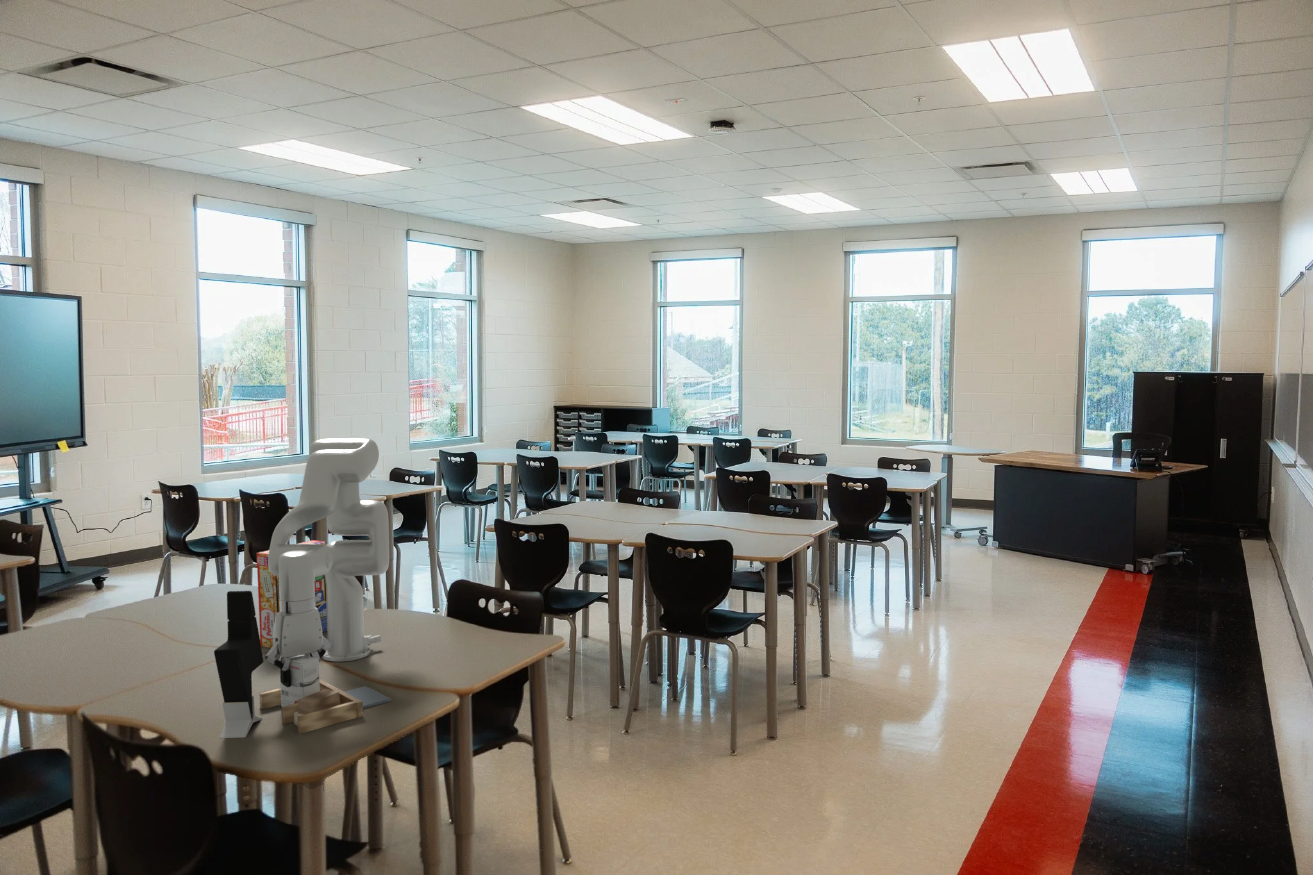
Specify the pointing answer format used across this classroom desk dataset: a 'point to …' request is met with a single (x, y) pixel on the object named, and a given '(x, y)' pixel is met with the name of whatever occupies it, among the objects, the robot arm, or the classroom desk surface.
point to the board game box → (271, 597)
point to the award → (239, 664)
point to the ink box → (301, 679)
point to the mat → (368, 696)
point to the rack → (318, 719)
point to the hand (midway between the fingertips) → (300, 681)
